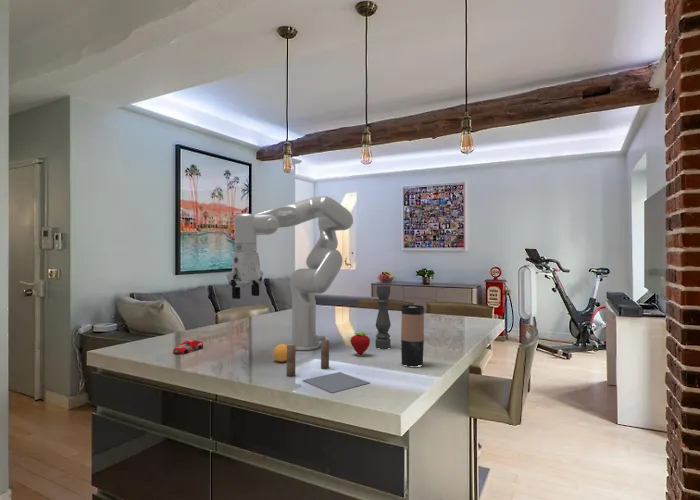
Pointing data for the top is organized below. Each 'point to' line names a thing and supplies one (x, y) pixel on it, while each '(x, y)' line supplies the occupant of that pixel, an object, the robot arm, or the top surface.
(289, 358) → the post
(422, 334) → the travel mug
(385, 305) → the candle holder
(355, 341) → the strawberry
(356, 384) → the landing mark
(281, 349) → the ball
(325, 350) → the post
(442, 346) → the top surface
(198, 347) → the race car
